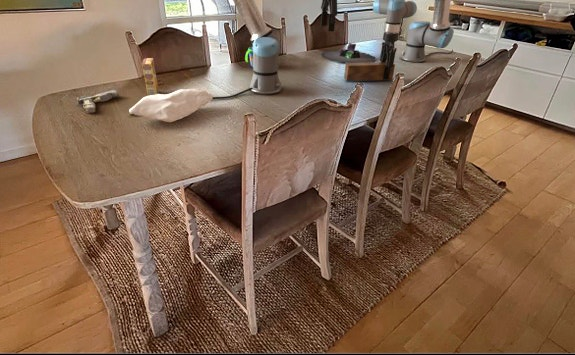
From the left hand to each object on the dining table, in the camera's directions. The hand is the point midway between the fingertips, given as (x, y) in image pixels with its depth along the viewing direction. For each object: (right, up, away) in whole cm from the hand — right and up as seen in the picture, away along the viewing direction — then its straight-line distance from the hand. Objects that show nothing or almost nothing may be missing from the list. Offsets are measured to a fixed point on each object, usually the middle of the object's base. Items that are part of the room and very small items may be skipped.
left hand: (327, 28), depth 174 cm
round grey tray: (+21, +7, +62) cm, 66 cm away
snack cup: (-36, -7, +37) cm, 53 cm away
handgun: (-99, -40, -18) cm, 108 cm away
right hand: (+33, -17, +23) cm, 44 cm away
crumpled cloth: (-66, -45, -25) cm, 84 cm away
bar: (+25, -18, +22) cm, 38 cm away
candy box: (-81, -34, -7) cm, 88 cm away
